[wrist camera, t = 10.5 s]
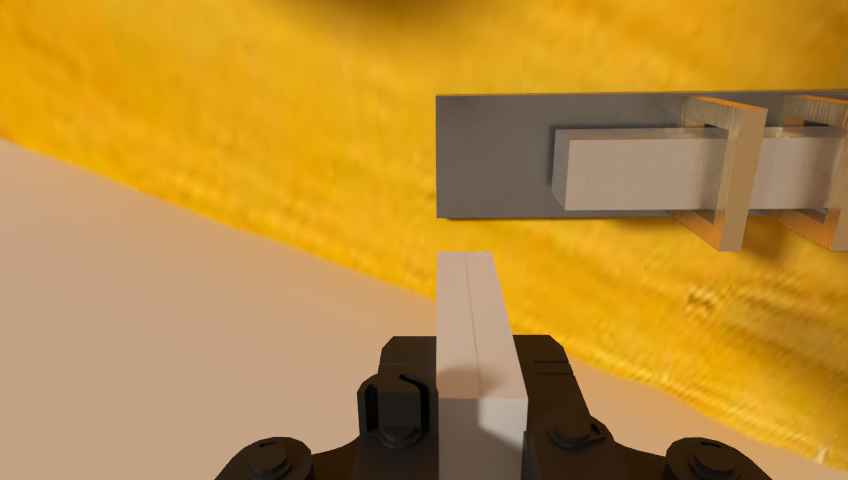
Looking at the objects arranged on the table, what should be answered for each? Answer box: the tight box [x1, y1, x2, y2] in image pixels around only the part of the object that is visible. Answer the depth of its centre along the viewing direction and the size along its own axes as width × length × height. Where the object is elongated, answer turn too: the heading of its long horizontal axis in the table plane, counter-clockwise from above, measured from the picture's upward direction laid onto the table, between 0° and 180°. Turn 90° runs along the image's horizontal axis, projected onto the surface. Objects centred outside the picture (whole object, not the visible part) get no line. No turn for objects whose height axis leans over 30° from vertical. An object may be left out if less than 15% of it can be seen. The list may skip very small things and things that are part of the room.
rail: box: [436, 89, 848, 251], centre depth 32 cm, size 32×8×8 cm, turn 91°
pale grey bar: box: [552, 126, 847, 210], centre depth 32 cm, size 22×4×4 cm, turn 91°
